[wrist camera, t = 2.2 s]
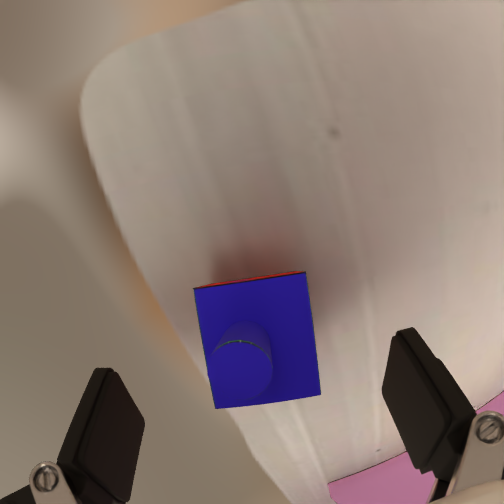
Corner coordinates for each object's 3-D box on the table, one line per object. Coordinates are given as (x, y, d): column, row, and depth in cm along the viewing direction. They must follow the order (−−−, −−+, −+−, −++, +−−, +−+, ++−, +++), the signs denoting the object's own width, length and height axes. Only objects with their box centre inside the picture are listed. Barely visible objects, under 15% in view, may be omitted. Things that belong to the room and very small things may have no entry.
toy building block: (290, 271, 15) (322, 271, 7) (302, 355, 15) (339, 435, 7) (217, 282, 15) (167, 294, 7) (230, 365, 15) (200, 452, 7)
